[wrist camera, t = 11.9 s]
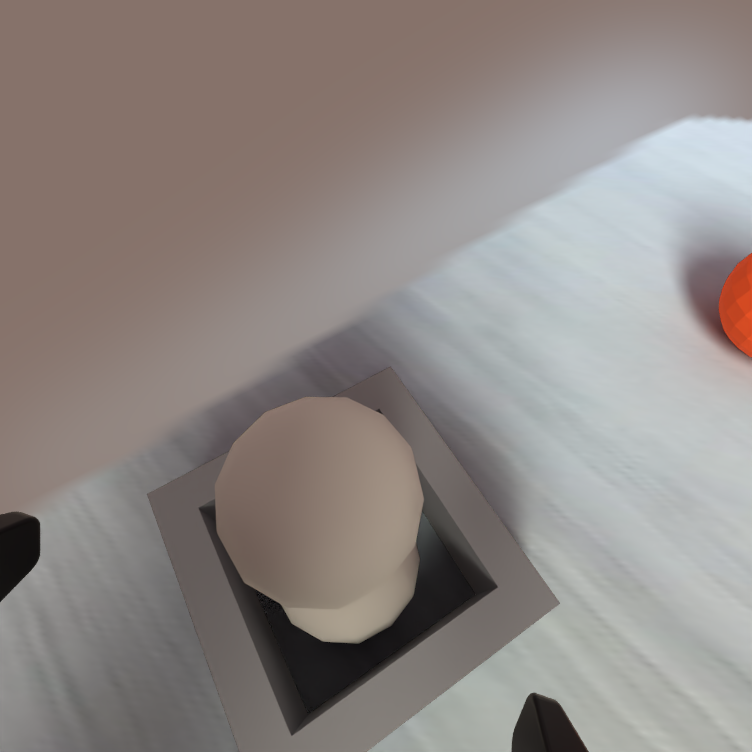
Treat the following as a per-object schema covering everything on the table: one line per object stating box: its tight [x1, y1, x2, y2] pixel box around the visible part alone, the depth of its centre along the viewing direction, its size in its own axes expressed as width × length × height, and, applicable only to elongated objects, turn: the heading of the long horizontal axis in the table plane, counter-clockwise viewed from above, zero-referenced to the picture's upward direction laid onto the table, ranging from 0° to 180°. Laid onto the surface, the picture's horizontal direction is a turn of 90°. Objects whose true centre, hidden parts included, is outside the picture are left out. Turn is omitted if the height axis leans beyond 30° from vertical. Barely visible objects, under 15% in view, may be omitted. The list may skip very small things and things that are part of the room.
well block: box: [147, 367, 560, 752], centre depth 18 cm, size 11×11×4 cm
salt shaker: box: [215, 397, 424, 644], centre depth 14 cm, size 6×6×13 cm
